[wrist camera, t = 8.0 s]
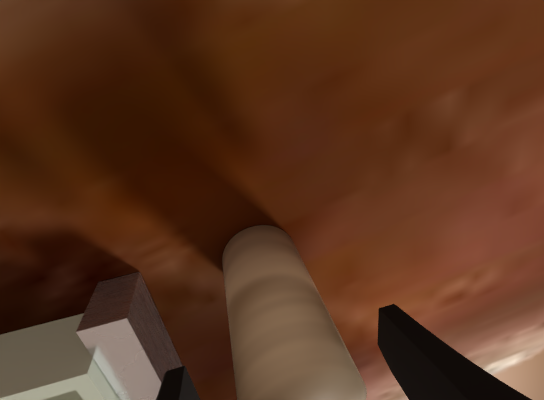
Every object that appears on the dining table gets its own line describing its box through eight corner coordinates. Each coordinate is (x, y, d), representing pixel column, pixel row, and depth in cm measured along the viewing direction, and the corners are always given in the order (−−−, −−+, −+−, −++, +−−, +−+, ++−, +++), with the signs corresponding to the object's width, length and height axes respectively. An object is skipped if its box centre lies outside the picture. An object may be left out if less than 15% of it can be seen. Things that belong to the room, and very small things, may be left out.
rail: (197, 397, 20) (196, 449, 17) (166, 407, 20) (161, 461, 17) (139, 271, 15) (126, 318, 12) (98, 282, 15) (75, 331, 12)
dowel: (298, 275, 17) (366, 426, 10) (230, 294, 17) (253, 465, 10) (290, 217, 15) (366, 351, 8) (214, 235, 15) (227, 395, 8)
